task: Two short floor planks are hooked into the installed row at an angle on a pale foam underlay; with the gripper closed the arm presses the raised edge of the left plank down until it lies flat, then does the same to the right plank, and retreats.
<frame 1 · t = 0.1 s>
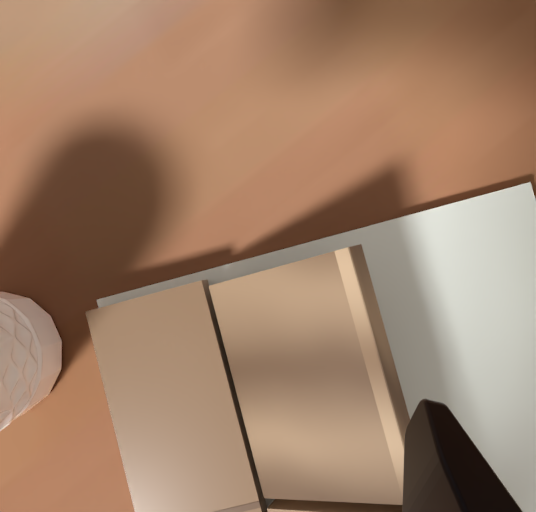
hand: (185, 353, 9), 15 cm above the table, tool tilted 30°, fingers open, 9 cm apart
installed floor: (365, 457, 23), on the table
plank b: (310, 378, 20), point 3 cm above the table, hinge at 28.0°
white cup: (7, 352, 24), on the table
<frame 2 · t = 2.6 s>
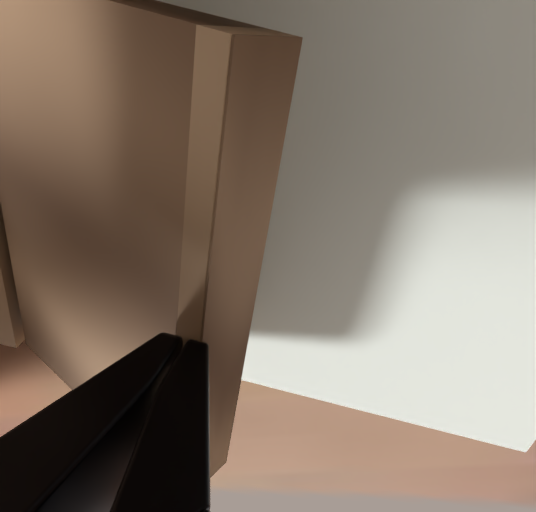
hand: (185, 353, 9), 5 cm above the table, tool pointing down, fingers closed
plank a: (111, 248, 10), point 3 cm above the table, hinge at 27.8°, touching gripper
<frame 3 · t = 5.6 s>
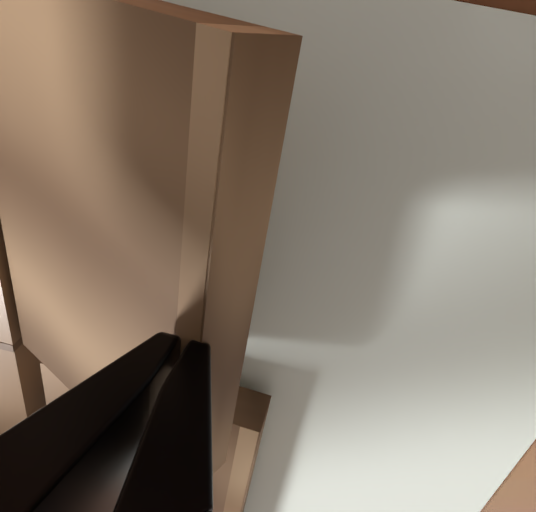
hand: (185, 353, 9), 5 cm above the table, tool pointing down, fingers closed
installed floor: (197, 346, 16), on the table
plank b: (109, 248, 10), point 3 cm above the table, hinge at 27.4°, touching gripper
plank a: (153, 472, 17), point 2 cm above the table, hinge at 3.3°
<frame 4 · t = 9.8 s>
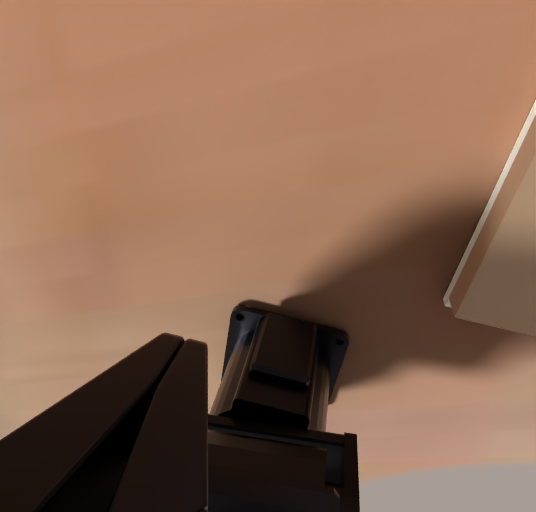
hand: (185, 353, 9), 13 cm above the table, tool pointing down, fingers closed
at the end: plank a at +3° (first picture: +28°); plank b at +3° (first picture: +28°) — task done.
